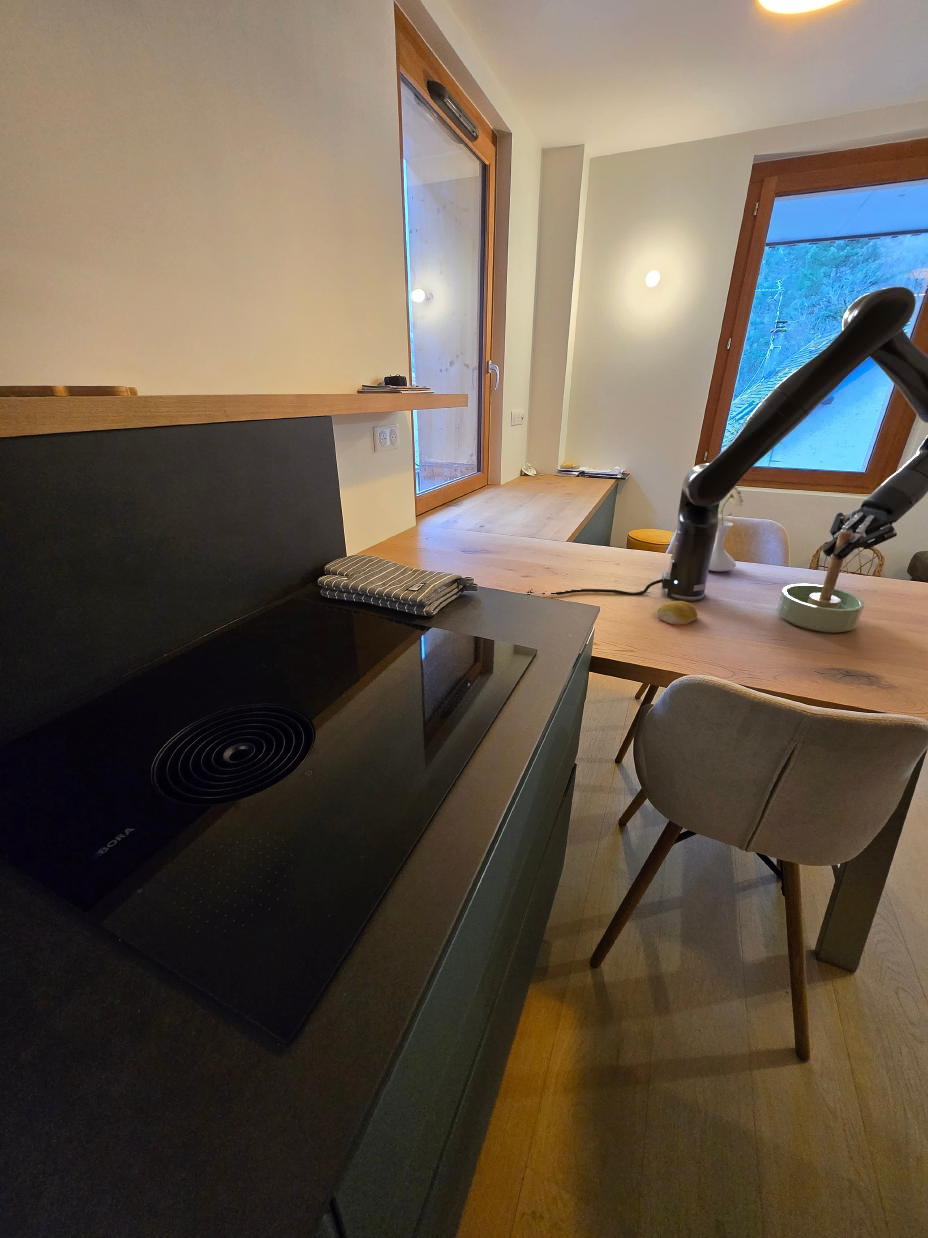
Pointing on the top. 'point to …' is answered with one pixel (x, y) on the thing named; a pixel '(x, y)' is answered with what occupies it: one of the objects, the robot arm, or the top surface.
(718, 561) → the flower in vase
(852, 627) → the bowl
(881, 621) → the top surface
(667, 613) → the bread roll
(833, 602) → the wooden plunger
